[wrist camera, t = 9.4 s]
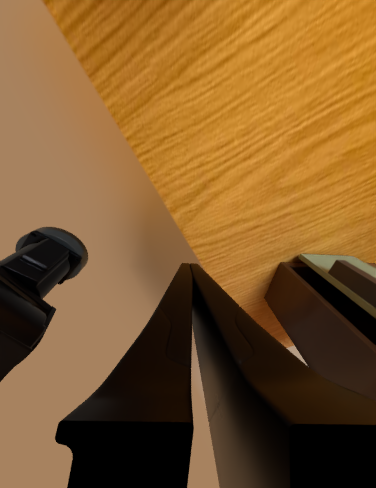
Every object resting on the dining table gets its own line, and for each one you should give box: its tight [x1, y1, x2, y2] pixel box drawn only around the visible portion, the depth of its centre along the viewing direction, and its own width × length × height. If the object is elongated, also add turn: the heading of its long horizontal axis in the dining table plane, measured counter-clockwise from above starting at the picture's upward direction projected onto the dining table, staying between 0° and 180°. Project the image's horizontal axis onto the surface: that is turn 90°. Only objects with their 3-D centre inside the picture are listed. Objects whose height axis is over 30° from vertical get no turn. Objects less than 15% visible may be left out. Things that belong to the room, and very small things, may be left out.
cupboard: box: [264, 262, 376, 401], centre depth 19 cm, size 16×10×16 cm, turn 85°
